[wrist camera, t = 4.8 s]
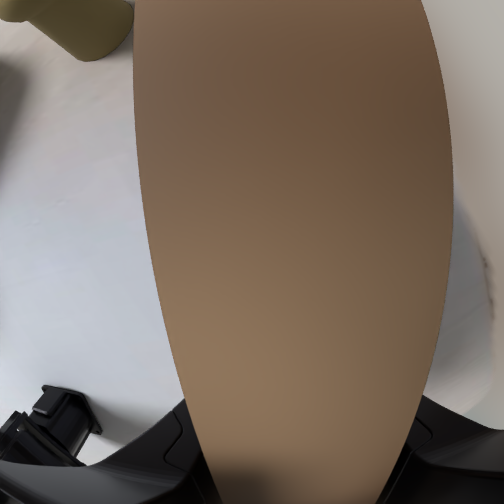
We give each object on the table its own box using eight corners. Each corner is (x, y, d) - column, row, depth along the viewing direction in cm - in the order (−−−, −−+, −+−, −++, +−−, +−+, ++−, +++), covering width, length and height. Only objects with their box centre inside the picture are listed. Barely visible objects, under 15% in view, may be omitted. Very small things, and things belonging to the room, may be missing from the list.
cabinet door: (332, 450, 13) (351, 574, 6) (266, 456, 14) (263, 582, 6) (333, 66, 9) (445, -86, 1) (228, 71, 9) (151, -104, 1)
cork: (85, 76, 17) (-17, 39, 6) (61, 36, 16) (-25, -3, 5) (147, 23, 16) (70, -52, 5) (115, -12, 15) (46, -75, 4)
